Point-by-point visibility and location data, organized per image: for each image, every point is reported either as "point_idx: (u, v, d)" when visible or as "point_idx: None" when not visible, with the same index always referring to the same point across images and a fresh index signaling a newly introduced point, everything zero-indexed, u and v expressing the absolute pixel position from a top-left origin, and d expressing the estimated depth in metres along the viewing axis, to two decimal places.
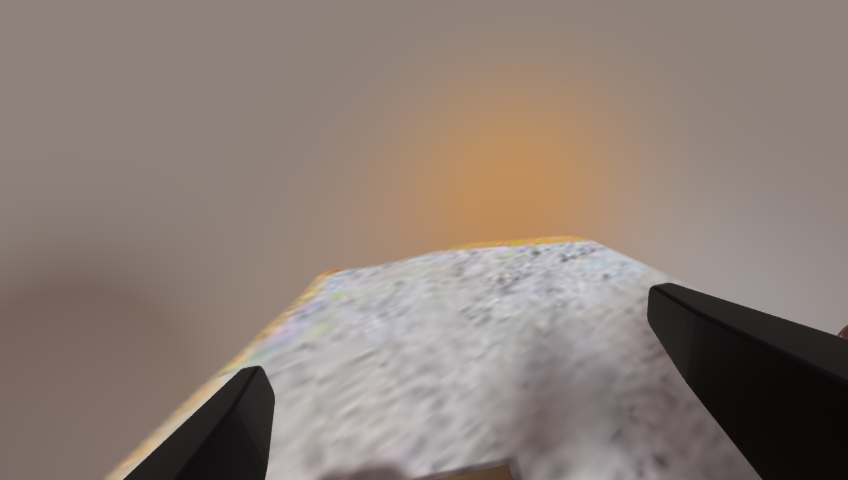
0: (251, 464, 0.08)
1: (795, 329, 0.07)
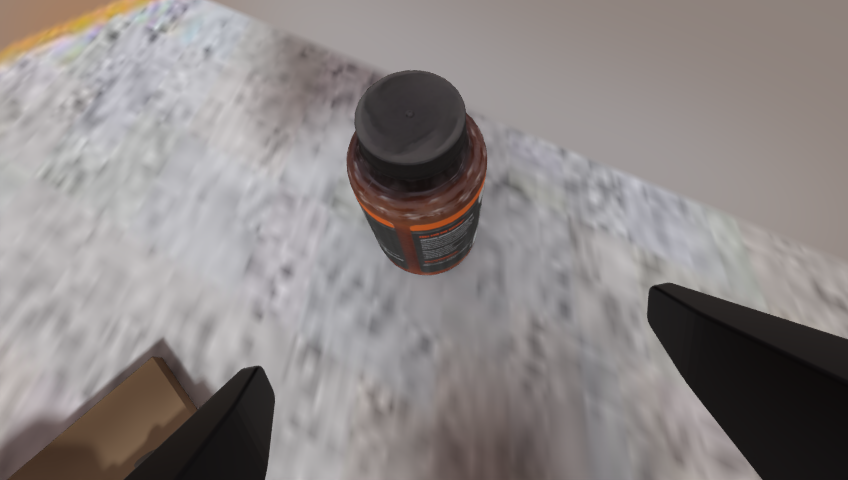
0: (251, 464, 0.08)
1: (795, 329, 0.07)
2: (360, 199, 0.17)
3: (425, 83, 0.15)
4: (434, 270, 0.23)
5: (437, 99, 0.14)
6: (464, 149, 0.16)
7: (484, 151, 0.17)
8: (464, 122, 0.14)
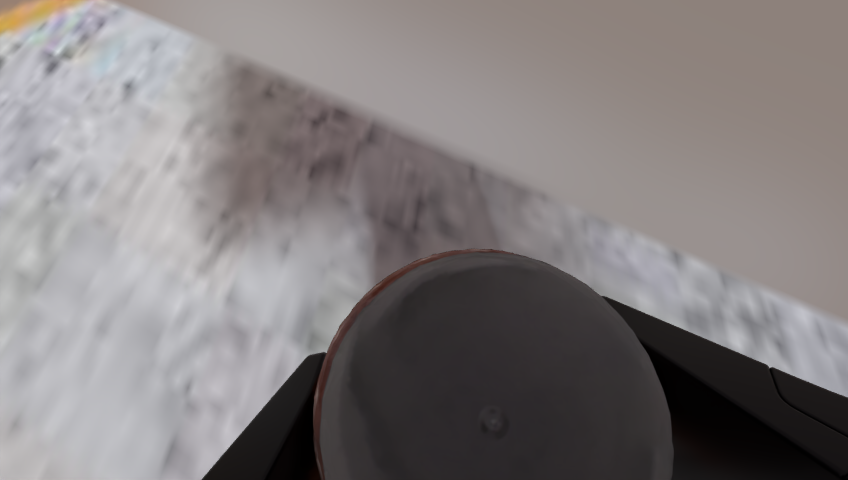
0: None
1: (706, 347, 0.07)
2: None
3: (532, 303, 0.05)
4: None
5: (575, 366, 0.05)
6: None
7: None
8: (670, 453, 0.04)
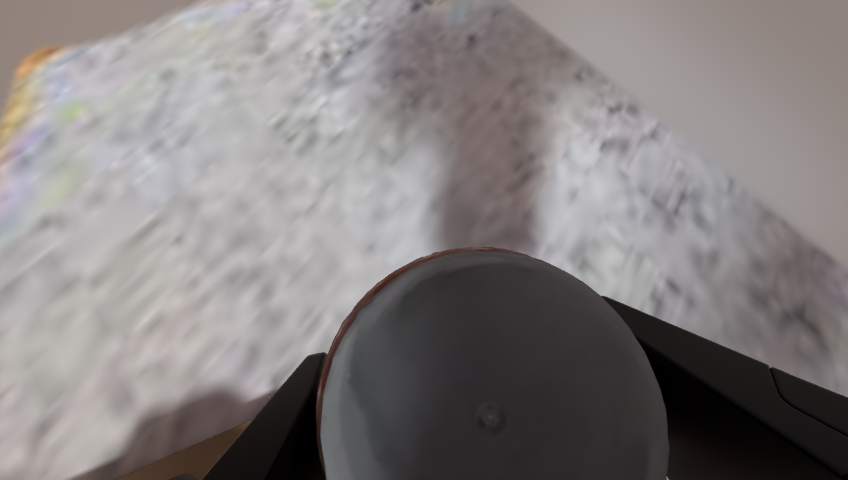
0: None
1: (706, 347, 0.07)
2: None
3: (529, 301, 0.05)
4: None
5: (572, 363, 0.05)
6: None
7: None
8: (665, 448, 0.04)
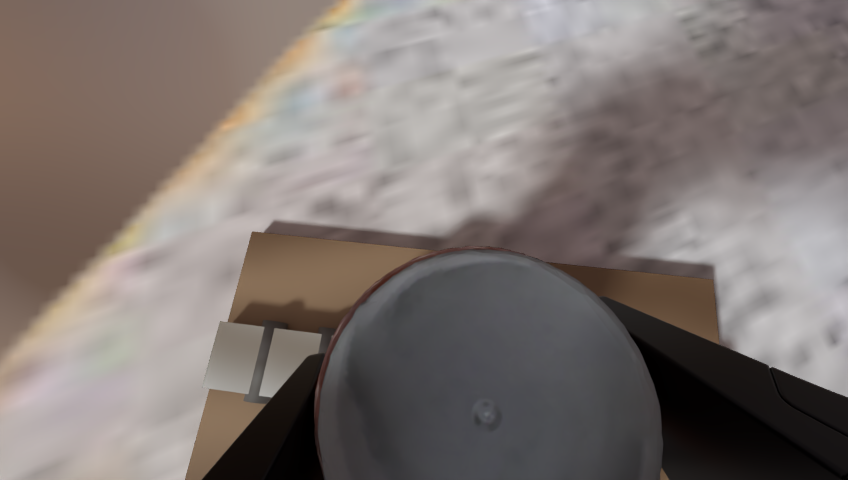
0: None
1: (706, 347, 0.07)
2: None
3: (525, 299, 0.05)
4: None
5: (567, 360, 0.05)
6: None
7: None
8: (659, 445, 0.05)
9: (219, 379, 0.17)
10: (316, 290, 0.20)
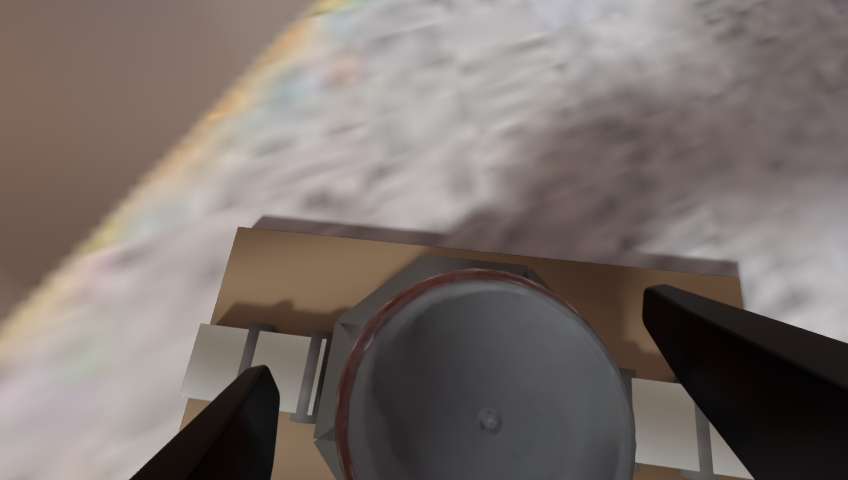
0: (258, 463, 0.08)
1: (788, 331, 0.07)
2: None
3: (522, 323, 0.06)
4: None
5: (556, 375, 0.06)
6: None
7: None
8: (633, 446, 0.05)
9: (198, 387, 0.16)
10: (307, 290, 0.18)
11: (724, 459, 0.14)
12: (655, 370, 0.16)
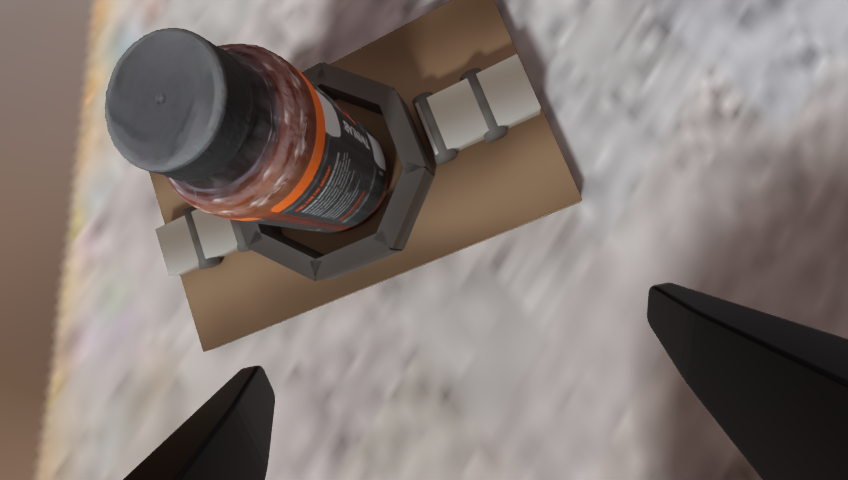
0: (251, 464, 0.08)
1: (795, 329, 0.07)
2: None
3: (158, 48, 0.11)
4: (361, 218, 0.20)
5: (178, 60, 0.11)
6: (263, 95, 0.12)
7: (294, 81, 0.13)
8: (223, 71, 0.11)
9: (176, 264, 0.23)
10: None
11: (502, 112, 0.19)
12: (451, 86, 0.21)
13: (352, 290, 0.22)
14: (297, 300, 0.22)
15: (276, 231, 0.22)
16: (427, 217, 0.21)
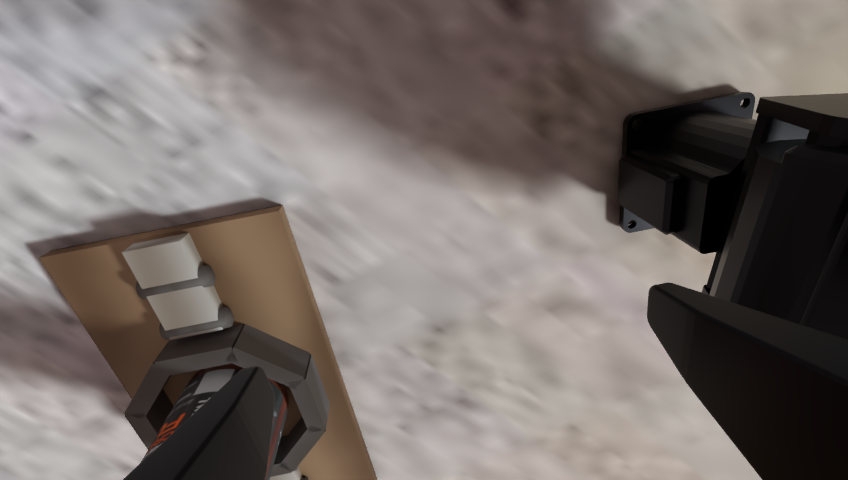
0: (251, 464, 0.08)
1: (795, 329, 0.07)
2: None
3: None
4: (276, 392, 0.23)
5: None
6: None
7: None
8: None
9: None
10: None
11: (184, 273, 0.20)
12: None
13: (341, 391, 0.26)
14: (344, 428, 0.27)
15: (283, 442, 0.26)
16: (283, 332, 0.23)
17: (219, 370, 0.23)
